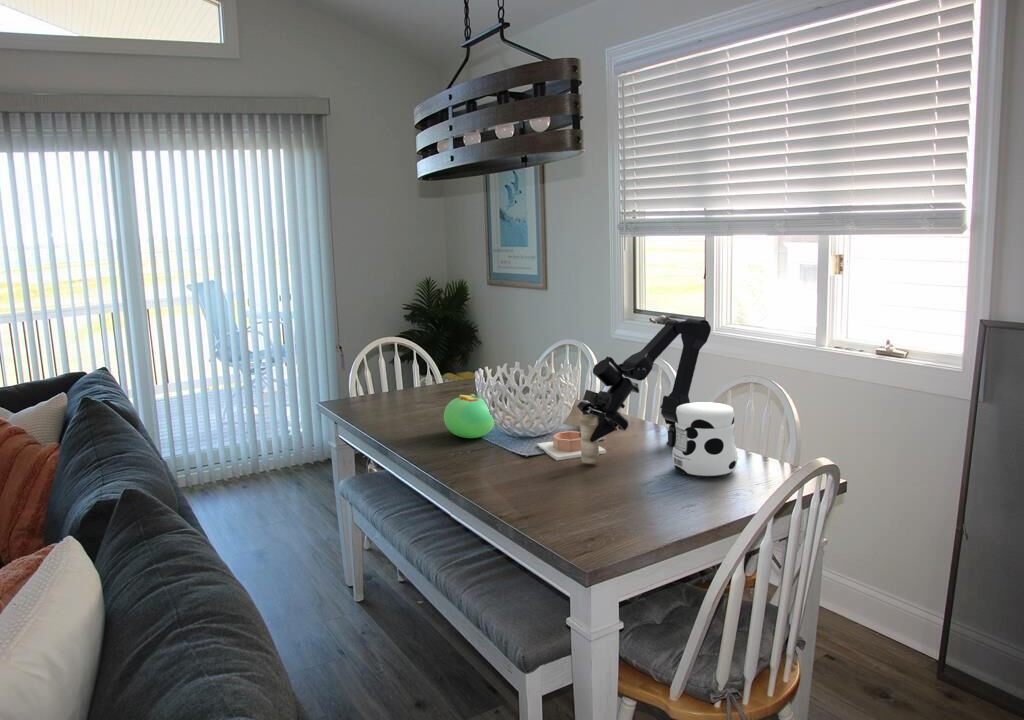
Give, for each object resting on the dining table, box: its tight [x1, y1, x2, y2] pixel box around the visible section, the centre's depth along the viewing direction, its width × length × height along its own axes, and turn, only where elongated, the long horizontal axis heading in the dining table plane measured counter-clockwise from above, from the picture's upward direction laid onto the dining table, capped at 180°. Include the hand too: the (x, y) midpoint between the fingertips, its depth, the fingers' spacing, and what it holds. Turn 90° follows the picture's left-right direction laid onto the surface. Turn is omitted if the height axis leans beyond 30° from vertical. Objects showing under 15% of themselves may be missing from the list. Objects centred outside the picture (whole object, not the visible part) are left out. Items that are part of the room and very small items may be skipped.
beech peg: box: [579, 414, 600, 464], centre depth 220 cm, size 5×5×13 cm
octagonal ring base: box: [536, 430, 607, 461], centre depth 237 cm, size 16×16×4 cm
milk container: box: [671, 401, 738, 479], centre depth 210 cm, size 17×17×18 cm
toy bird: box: [443, 393, 496, 439], centre depth 255 cm, size 18×17×15 cm
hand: (585, 439), depth 220 cm, fingers closed on beech peg, 5 cm apart
